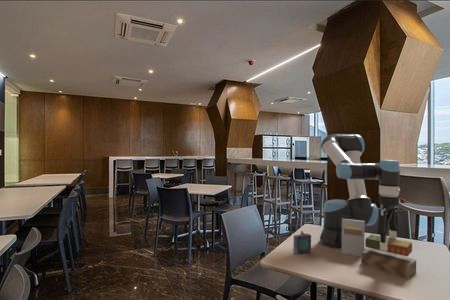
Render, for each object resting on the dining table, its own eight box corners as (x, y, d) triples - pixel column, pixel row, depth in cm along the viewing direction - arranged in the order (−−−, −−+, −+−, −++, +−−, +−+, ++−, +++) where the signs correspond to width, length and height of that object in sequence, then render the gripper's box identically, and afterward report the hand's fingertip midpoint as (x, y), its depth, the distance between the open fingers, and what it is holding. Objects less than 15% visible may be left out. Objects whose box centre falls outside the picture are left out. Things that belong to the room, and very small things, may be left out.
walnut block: (361, 263, 122) (361, 252, 122) (371, 257, 128) (371, 247, 128) (407, 278, 108) (407, 266, 108) (416, 271, 114) (416, 260, 114)
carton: (407, 257, 109) (407, 246, 109) (364, 247, 120) (364, 237, 120) (412, 252, 115) (412, 241, 115) (370, 242, 126) (371, 233, 126)
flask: (294, 255, 130) (295, 232, 130) (291, 253, 133) (292, 231, 133) (311, 253, 132) (312, 231, 132) (308, 251, 135) (308, 230, 135)
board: (341, 250, 137) (342, 217, 137) (363, 253, 133) (364, 220, 133) (341, 253, 133) (341, 219, 133) (364, 257, 129) (364, 222, 129)
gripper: (388, 199, 108) (387, 256, 108) (408, 194, 121) (407, 245, 121) (368, 196, 114) (367, 250, 114) (389, 192, 127) (389, 240, 127)
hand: (388, 247), depth 118 cm, fingers closed on carton, 9 cm apart
